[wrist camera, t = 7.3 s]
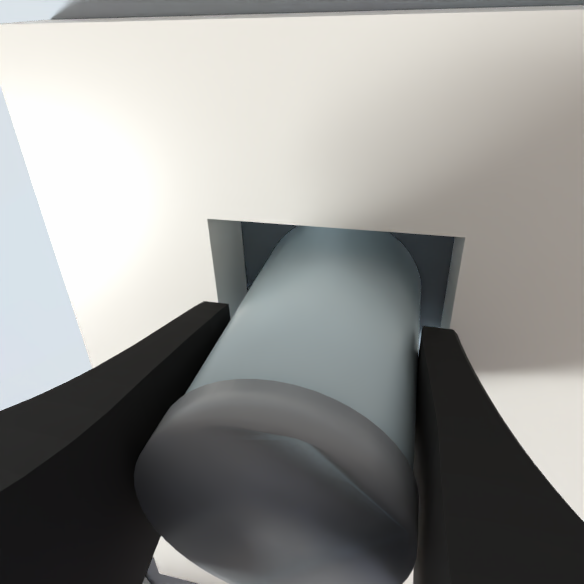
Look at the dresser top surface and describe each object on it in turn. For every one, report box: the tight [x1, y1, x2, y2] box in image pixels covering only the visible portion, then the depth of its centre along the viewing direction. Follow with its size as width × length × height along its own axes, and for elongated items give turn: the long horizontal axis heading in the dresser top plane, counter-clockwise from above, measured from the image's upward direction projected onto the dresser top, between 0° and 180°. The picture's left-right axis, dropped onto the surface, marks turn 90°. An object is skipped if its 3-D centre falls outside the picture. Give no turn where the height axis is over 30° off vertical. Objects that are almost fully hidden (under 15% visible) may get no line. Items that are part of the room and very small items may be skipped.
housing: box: [0, 5, 584, 584], centre depth 14 cm, size 14×20×2 cm
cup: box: [134, 225, 421, 584], centre depth 10 cm, size 4×4×7 cm
